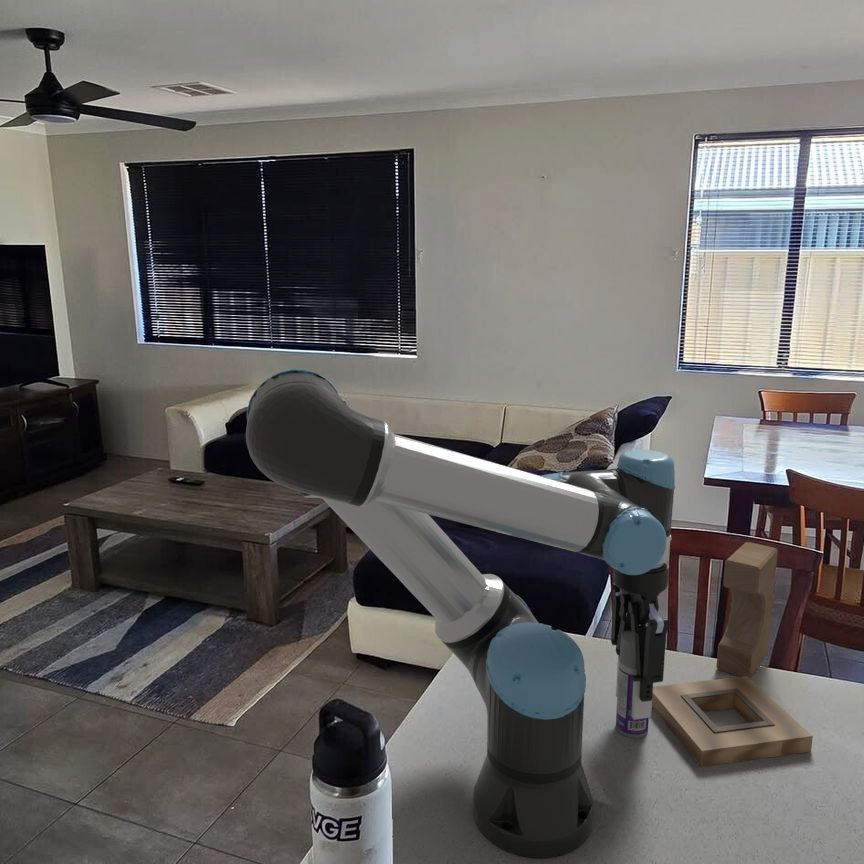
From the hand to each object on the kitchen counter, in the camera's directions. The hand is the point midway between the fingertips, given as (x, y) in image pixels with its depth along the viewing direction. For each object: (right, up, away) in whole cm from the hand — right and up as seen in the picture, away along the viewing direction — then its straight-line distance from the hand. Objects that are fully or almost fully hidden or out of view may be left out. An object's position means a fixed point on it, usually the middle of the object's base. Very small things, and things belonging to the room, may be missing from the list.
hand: (633, 706), depth 111 cm
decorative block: (+24, +1, +19) cm, 31 cm away
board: (+14, -3, +1) cm, 15 cm away
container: (0, -4, +1) cm, 4 cm away
